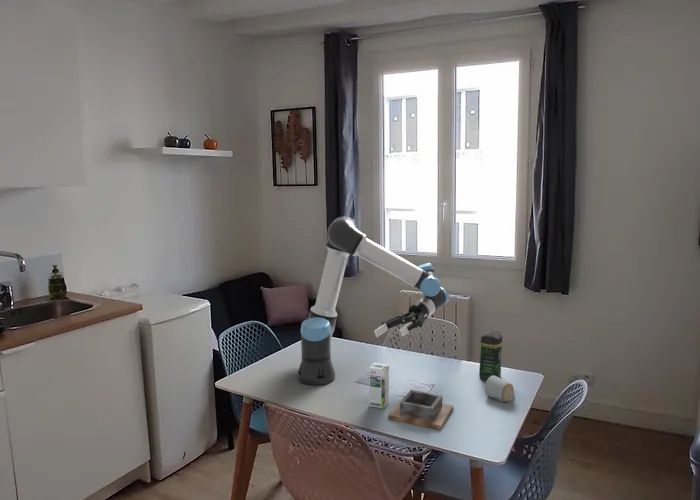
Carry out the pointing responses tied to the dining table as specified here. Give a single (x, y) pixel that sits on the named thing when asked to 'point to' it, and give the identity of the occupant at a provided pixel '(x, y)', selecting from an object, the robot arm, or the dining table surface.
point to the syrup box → (378, 385)
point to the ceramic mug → (499, 388)
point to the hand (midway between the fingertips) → (388, 333)
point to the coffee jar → (490, 354)
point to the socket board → (422, 410)
